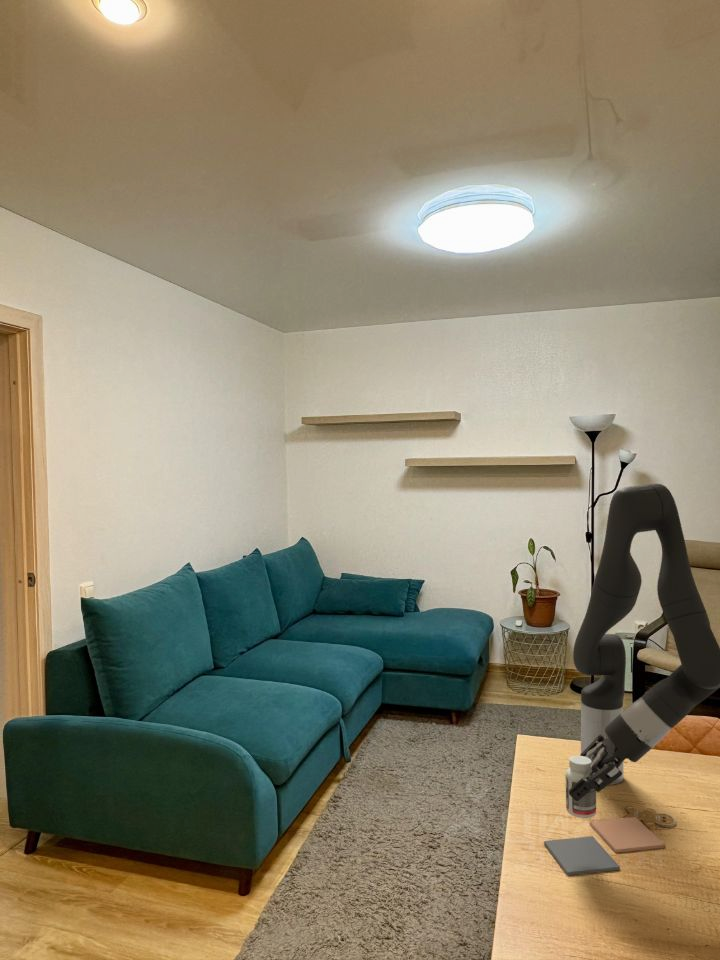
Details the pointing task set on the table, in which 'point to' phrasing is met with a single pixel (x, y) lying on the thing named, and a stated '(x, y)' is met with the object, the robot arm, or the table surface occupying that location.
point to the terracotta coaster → (626, 834)
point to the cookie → (651, 817)
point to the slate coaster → (581, 855)
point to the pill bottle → (573, 775)
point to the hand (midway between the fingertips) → (570, 788)
